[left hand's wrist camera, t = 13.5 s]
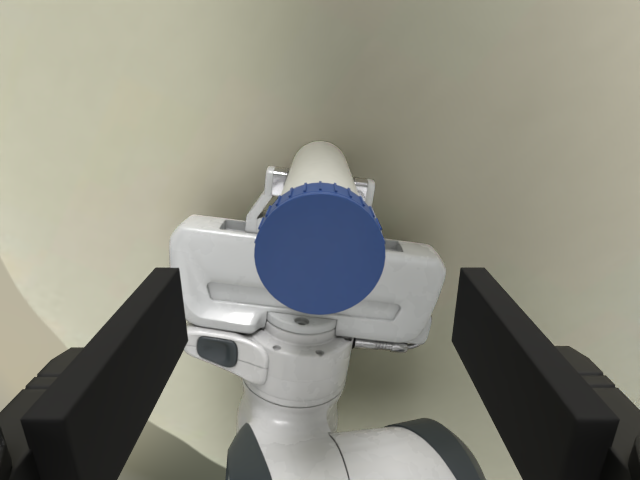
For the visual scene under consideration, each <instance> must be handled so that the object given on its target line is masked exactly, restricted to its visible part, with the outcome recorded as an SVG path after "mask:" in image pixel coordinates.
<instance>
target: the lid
mask: <svg viewBox="0 0 640 480" xmlns="http://www.w3.org/2000/svg"><path fill="white" fill-rule="evenodd" d="M258 229H259V231H258V234H257V236H256V239H255V241H254V243H255V248H254V259H255V266H256V270H257V273H258V275H259V278H260V280H261V282H262V283H263V285H264V287H265V288H266V289H267V290H268V292H269V293H270V294H271V295H272V296H273V297H274V298H275V299H276V300H278V301H279V302H280V303H282V304H283V305H285V306H287V307H289V308H291V309H293V310H295V311H299V312H302V313H306V314H313V315H327V314H333V313H338V312H341V311H344V310H347V309H349V308H351V307H353V306H355V305H356V304H358V303H359V302H361V301H362V300H363V299H365V298H366V297H367V296H368V295H369V294H370V293H371V291H372V290H373V289H374V288H375V286H376V285H377V283H378V281H379V279H380V277H381V275H382V272H383V269H384V265H385V257H386V256H385V244H386V243H385V240H384V237H383V235H382V233H381V230H382V228H381V225H380V223H379V221H378V218H375V214H374V212H373V210H372V207H371V206H368V205H367V204H366V203H365V201H364V200H363V198H362V196H361V195H360V196H358V195H357V194H355V193H354V192H352V191H351V190H350V188H347V189H346V188H344V187H342V186H339V185H337V184H336V183H334V184H330V183H322V181H319V183H309V184H307V182H306V183H304V185H301V186H298V187H295V188H293V187H292V188H290V190H289V191H288V192H286V193H285V194H283V195H282V196H281V195H279V196H278V198H277V200H276V201H275V202H274V203H273V205H272V206H271V205H270V206H269V207H268V210H267V212H266V214H265V218H264V217H263V218H262V220H261V222H260V225H259V227H258Z"/></svg>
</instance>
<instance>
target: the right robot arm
mask: <svg viewBox="0 0 640 480" xmlns="http://www.w3.org/2000/svg"><path fill="white" fill-rule="evenodd" d="M288 173H289V168H282V167H275V166H268V168H267V171H266V178H265V189H264V191H263V192H262V194H261V195H260V196H259V198H258V199H257V201H256V202H255V203H254V205H253V206H252V207H251V209H250V211H249V212H248V214H247V216H246V221H243V220H235V219H227V218H219V217H211V216H204V215H191V216H189V217H188V218H186V219H185V220H184V221H183V222H182V223H180V224H179V225H178V226H177V228H176V229H175V230H174V231H173V233H172V235H171V237H170V242H169V261H170V268H179V269H180V277H181V285H182V294H183V302H184V310H185V318H186V320H187V321H188V322H187V325H186V326H187V334H188V342H187V344H186V346H185V348H184V351H185V352H186V353H187V354H189V355H190V356H193V357H195V358H198V359H200V360H203V361H205V362H208V363H211V364H213V365H216V366H218V367H220V368H223V369H225V370H227V371H229V372H231V373H233V374H235V375H237V376H239V377H241V379H242V384H243V387H244V393H243V395H242V398H241V400H240V403H239V406H238V412H237V427H236V436H235V438H234V440H233V442H232V443H231V445H230V447H229V449H228V455H227V468H226V480H486V479H485V477H484V474H483V472H482V470H481V468H480V466H479V464H478V462H477V460H476V458H475V457H474V455H473V454H472V452H471V451H470V450H469V448H468V447H467V446H466V445H465V444H464V443H463V442H462V441H461V440H460V439H459V438H458V437H457V436H456V435H455V434H454V433H452V432H451V431H450V430H448V429H447V428H446V427H444V426H443V425H442V424H440V423H439V422H437V421H435V420H432V419H428V418H421V419H417V420H412V421H407V422H402V423H398V424H393V425H388V426H386V427H383V428H374V429H365V430H355V431H346V432H336V430H337V425H338V410H337V401H338V399H339V398H340V396H341V394H342V392H343V390H344V387H345V382H346V378H347V372H348V367H349V361H350V356H351V350H352V349H353V348H359V349H368V350H387V351H390V352H394V353H405V352H407V349H412V348H416V347H418V346H420V345H421V344H424V343H425V341H426V340H427V338H428V334H429V331H430V327H431V323H432V315H431V314H432V312H433V310H434V307H435V305H436V303H437V300H438V298H439V295H440V292H441V289H442V286H443V283H444V280H445V277H446V268H445V265H444V263H443V261H442V259H441V257H440V256H439V254H438V253H437V252H436V251H435V249H434V248H433V247H432V246H431V245H429V244H425V243H416V242H408V241H401V240H393V239H385V238H384V240H385V243H386V244H385V256H386V257H385V265H384V269H383V272H382V275H381V277H380V279H379V281H378V283H377V285H376V286H375V288H374V289H373V290H372V291H371V293H370V294H369V295H368V296H367V297H366V298H365V299H363V300H362V301H361V302H359V303H358V304H356V305H355V306H353V307H351V308H349V309H347V310H344V311H341V312H338V313H333V314H327V315H313V314H306V313H302V312H299V311H295V310H293V309H291V308H289V307H287V306H285V305H283V304H282V303H280V302H279V301H278V300H276V299H275V298H274V297H273V296H272V295H271V294H270V293H269V292H268V290H267V289H266V288H265V287H264V285H263V283H262V282H261V280H260V278H259V275H258V273H257V270H256V266H255V259H254V248H255V243H254V241H255V239H256V236H257V234H258V231H259V229H258V227H259V225H260V222H261V220H262V218H263V217H264V218H265V214H266V212H267V211H266V210H263V209H264V208H265V206H266V205H267V204H268V202H269V201H270V200H271V198H272V197H273V196H279V195H281V193H282V190H283V188H284V185H285V182H286V179H287V176H288ZM353 180H354V183H355V186H356V189H357V191H358V194H359V196H360V195H361V196H362V198H363V200H364V201H365V203H366V204H367V205H368V206H371V207H372V202H373V197H374V191H375V181H374V180H373V179H366V178H357V177H354V178H353ZM372 210H373V207H372ZM373 212H374V210H373ZM374 214H375V212H374ZM375 218H376V215H375ZM381 233H382V231H381ZM408 343H411V344H408Z"/></svg>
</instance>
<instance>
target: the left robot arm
mask: <svg viewBox="0 0 640 480" xmlns="http://www.w3.org/2000/svg"><path fill="white" fill-rule="evenodd" d="M187 342H188V334H187V326H186V318H185V310H184V302H183V294H182V285H181V277H180V269H179V268H155V269H154V270H153V271H152V272H151V273H150V275H149V276H148V277H147V278H146V279H145V280H144V281H143V282H142V284H141V285H140V286H139V287H138V288H137V289H136V290H135V291H134V292H133V294H132V295H131V296H130V297H129V298H128V299H127V300H126V301H125V303H124V304H123V305H122V306H121V307H120V308H119V309H118V310H117V311H116V313H115V314H114V315H113V316H112V317H111V318H110V319H109V320H108V322H107V323H106V324H105V325H104V326H103V327H102V328H101V329H100V330H99V332H98V333H97V334H96V335H95V336H94V337H93V338H92V339H91V341H90V342H89V343H88V344H87V345H86V346H85V347H84V348H70V349H68V350H67V351H65V352H63V353H62V354H60V355H58V356H57V357H55V358H54V359H52V360H51V361H50V362H49V363H48V364H47V365H46V366H45V367H44V368H43V369H42V370H41V371H40V372H39V373H38V374H37V377H34V378H33V379H32V380H31V381H30V382H29V383H28V384H27V385H26V388H25V389H23V390H21V392H20V393H19V394H18V395H17V396H16V397H15V398H14V399H13V400H12V401H11V402H10V403H9V404H8V405H7V406H6V407H5V408H4V409H3V410H2V411H1V412H0V480H117V479H118V477H119V475H120V473H121V471H122V469H123V467H124V465H125V463H126V461H127V459H128V457H129V455H130V454H131V452H132V450H133V448H134V446H135V444H136V442H137V440H138V438H139V436H140V434H141V432H142V430H143V428H144V426H145V424H146V422H147V420H148V418H149V417H150V415H151V413H152V411H153V409H154V407H155V405H156V403H157V401H158V399H159V397H160V395H161V393H162V391H163V389H164V387H165V385H166V383H167V381H168V379H169V377H170V376H171V374H172V372H173V370H174V368H175V366H176V364H177V362H178V360H179V358H180V356H181V354H182V352H183V350H184V348H185V346H186V344H187ZM452 342H453V344H454V346H455V348H456V350H457V352H458V354H459V356H460V358H461V360H462V362H463V364H464V366H465V368H466V370H467V372H468V374H469V376H470V378H471V379H472V381H473V383H474V385H475V387H476V389H477V391H478V393H479V395H480V397H481V399H482V401H483V403H484V405H485V407H486V409H487V411H488V413H489V415H490V417H491V418H492V420H493V422H494V424H495V426H496V428H497V430H498V432H499V434H500V436H501V438H502V440H503V442H504V444H505V446H506V448H507V450H508V452H509V454H510V456H511V457H512V459H513V461H514V463H515V465H516V467H517V469H518V471H519V473H520V475H521V477H522V479H523V480H640V410H639V409H638V408H637V407H636V406H635V405H634V404H633V403H632V402H631V401H630V400H629V399H628V398H627V397H626V396H625V395H624V394H623V393H622V392H621V391H620V390H619V388H615V384H614V383H613V382H612V381H611V380H610V379H609V378H608V377H607V376H604V375H603V372H602V371H601V370H600V369H599V368H598V367H597V366H596V365H595V364H594V363H593V362H592V361H591V360H590V359H589V358H588V357H586V356H584V355H583V354H581V353H579V352H578V351H576V350H574V349H573V348H571V347H569V346H554V345H553V344H552V343H551V342H550V341H549V339H548V338H547V337H546V336H545V335H544V334H543V333H542V332H541V330H540V329H539V328H538V327H537V326H536V325H535V324H534V323H533V322H532V320H531V319H530V318H529V317H528V316H527V315H526V314H525V313H524V311H523V310H522V309H521V308H520V307H519V306H518V305H517V304H516V303H515V301H514V300H513V299H512V298H511V297H510V296H509V295H508V294H507V292H506V291H505V290H504V289H503V288H502V287H501V286H500V285H499V284H498V282H497V281H496V280H495V279H494V278H493V277H492V276H491V275H490V273H489V272H488V271H487V270H486V269H485V268H461V269H460V277H459V285H458V293H457V302H456V310H455V318H454V326H453V334H452Z"/></svg>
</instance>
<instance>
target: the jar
mask: <svg viewBox="0 0 640 480" xmlns="http://www.w3.org/2000/svg"><path fill="white" fill-rule="evenodd" d="M319 181H322V183H330V184H334V183H336V184H337V185H339V186H342V187H344V188H346V189H347V188H350V190H351V191H352V192H354V193H355V194H357V195H358V196H359V194H358V191H357V189H356V186H355V183H354V180H353V177H352V174H351V172H350V169H349V166H348V163H347V160H346V158H345V156H344V154H343V152H342V151H341V150H340V149H339V148H338V147H337V146H335V145H333V144H332V143H329V142H325V141H314V142H311V143H308V144H306V145H304V146H303V147H302V148H301V149H299V151H298V152H297V153H296V155H295V157H294V159H293V162H292V165H291V168H290V170H289V173H288V176H287V179H286V182H285V185H284V188H283V190H282V193H281V196H282V195H283V194H285V193H286V192H288V191H289V190H290V188H292V187H293V188H295V187H298V186H301V185H304V183H306V182H307V184H309V183H319Z"/></svg>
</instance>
